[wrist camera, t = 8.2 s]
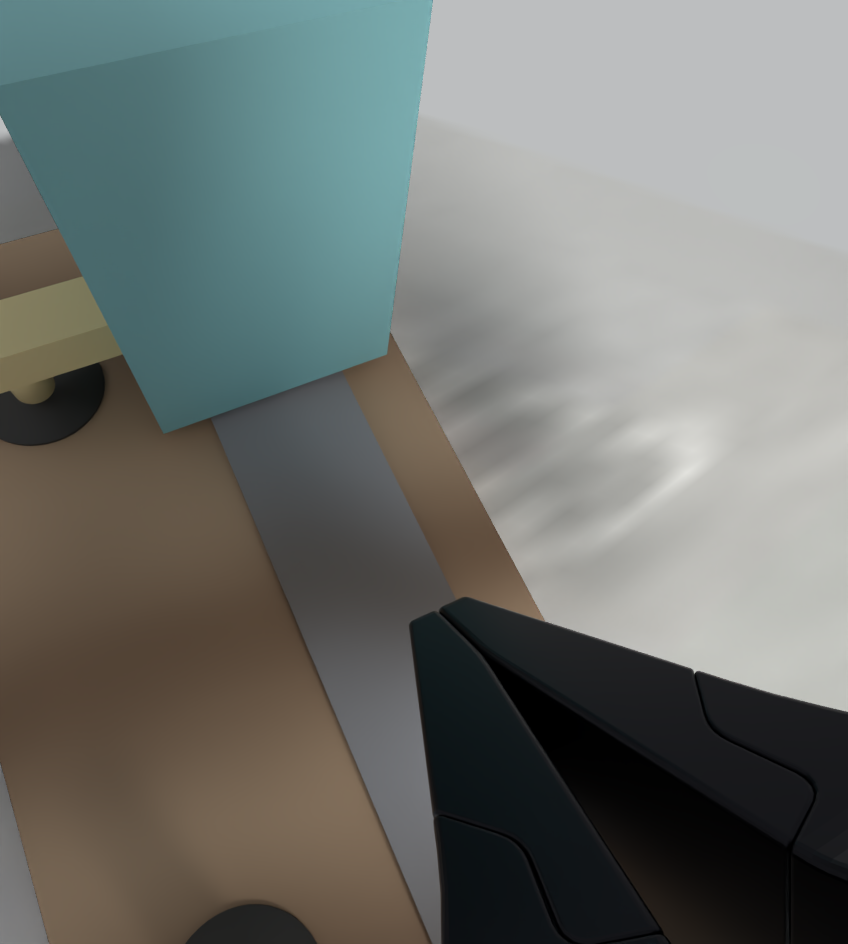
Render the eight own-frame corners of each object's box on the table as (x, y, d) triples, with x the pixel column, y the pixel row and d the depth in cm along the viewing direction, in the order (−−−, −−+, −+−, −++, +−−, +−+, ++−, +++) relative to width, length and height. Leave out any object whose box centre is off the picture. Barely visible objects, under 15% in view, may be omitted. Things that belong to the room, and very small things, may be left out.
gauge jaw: (386, 354, 16) (433, -7, 8) (41, 477, 14) (-295, 148, 6) (316, 219, 17) (302, -200, 10) (-12, 315, 15) (-346, -119, 8)
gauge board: (751, 1081, 13) (968, 1244, 9) (246, 1470, 11) (183, 1989, 6) (303, 219, 20) (294, 56, 15) (-80, 330, 17) (-230, 174, 13)
